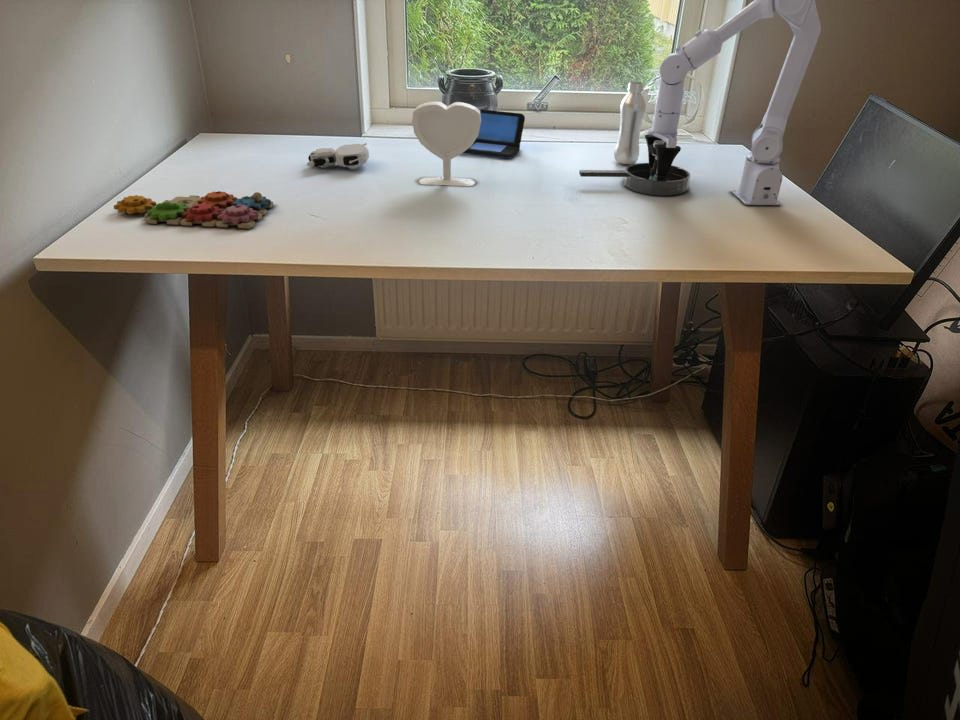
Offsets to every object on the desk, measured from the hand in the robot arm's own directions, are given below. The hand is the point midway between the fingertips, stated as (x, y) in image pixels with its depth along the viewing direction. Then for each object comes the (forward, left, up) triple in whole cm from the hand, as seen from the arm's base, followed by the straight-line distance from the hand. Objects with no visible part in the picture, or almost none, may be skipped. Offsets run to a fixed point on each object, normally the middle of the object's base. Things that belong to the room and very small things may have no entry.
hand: (657, 170), depth 164 cm
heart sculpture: (+2, +50, -4) cm, 50 cm away
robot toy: (+14, +77, -4) cm, 78 cm away
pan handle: (0, +13, -1) cm, 13 cm away
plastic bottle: (+19, +3, -4) cm, 20 cm away
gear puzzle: (-20, +103, -4) cm, 105 cm away
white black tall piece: (0, 0, -4) cm, 4 cm away
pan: (0, 0, -4) cm, 4 cm away
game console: (+30, +38, -4) cm, 49 cm away
